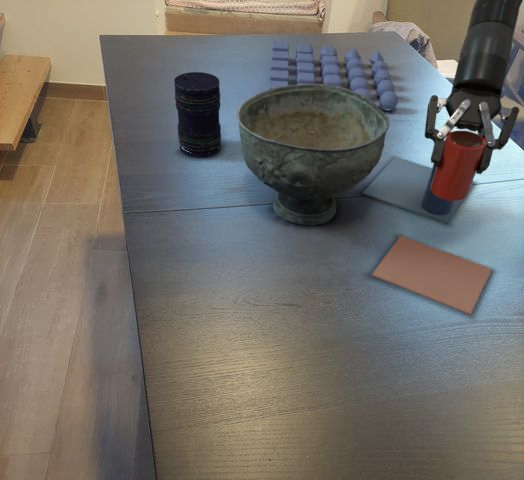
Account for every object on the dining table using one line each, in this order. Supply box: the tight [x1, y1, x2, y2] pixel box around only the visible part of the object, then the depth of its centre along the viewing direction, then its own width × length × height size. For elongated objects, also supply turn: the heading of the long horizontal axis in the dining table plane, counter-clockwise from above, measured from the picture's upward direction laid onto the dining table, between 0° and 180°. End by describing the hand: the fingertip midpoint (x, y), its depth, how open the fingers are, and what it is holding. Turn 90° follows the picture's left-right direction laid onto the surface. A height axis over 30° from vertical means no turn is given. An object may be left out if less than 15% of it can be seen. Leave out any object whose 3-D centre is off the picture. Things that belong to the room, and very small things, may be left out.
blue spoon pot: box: [421, 163, 454, 215], centre depth 103 cm, size 6×6×9 cm
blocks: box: [268, 41, 399, 112], centre depth 146 cm, size 35×34×5 cm
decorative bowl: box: [236, 83, 390, 226], centre depth 98 cm, size 26×26×20 cm
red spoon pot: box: [430, 130, 487, 201], centre depth 83 cm, size 6×6×9 cm
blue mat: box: [362, 156, 475, 224], centre depth 112 cm, size 19×19×1 cm
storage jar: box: [173, 71, 222, 159], centre depth 114 cm, size 10×10×15 cm
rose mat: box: [371, 235, 493, 316], centre depth 93 cm, size 18×14×1 cm
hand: (457, 168), depth 82 cm, fingers closed on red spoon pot, 6 cm apart
